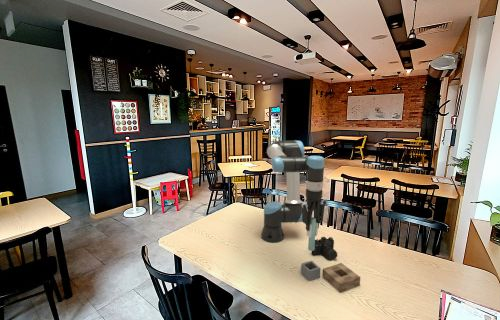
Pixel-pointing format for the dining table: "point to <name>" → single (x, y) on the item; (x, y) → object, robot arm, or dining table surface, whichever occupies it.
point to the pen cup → (310, 270)
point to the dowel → (312, 235)
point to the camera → (325, 248)
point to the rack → (341, 277)
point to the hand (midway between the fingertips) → (311, 235)
